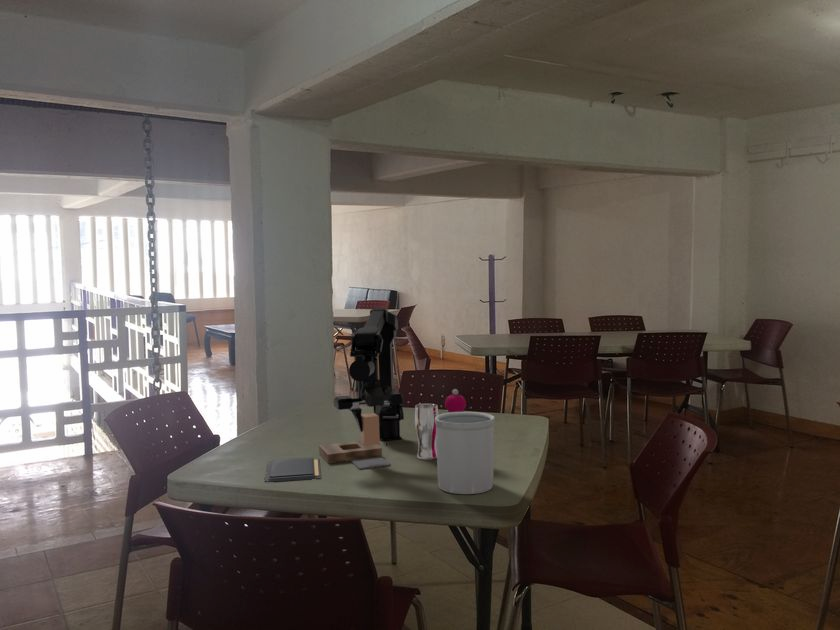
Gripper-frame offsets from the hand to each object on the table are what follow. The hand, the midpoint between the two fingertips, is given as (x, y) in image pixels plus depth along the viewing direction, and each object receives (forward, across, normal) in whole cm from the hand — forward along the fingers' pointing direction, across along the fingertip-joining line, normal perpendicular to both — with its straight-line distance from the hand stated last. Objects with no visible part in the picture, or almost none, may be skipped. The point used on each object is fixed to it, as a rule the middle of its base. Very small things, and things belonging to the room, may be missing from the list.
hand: (369, 430), depth 195 cm
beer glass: (+10, +17, -1) cm, 19 cm away
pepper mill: (+10, +24, -6) cm, 26 cm away
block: (+4, 0, 0) cm, 4 cm away
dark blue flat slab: (+10, -21, +2) cm, 24 cm away
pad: (+9, 0, 0) cm, 9 cm away
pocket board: (+9, -3, +10) cm, 14 cm away
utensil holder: (+10, +16, -30) cm, 35 cm away
